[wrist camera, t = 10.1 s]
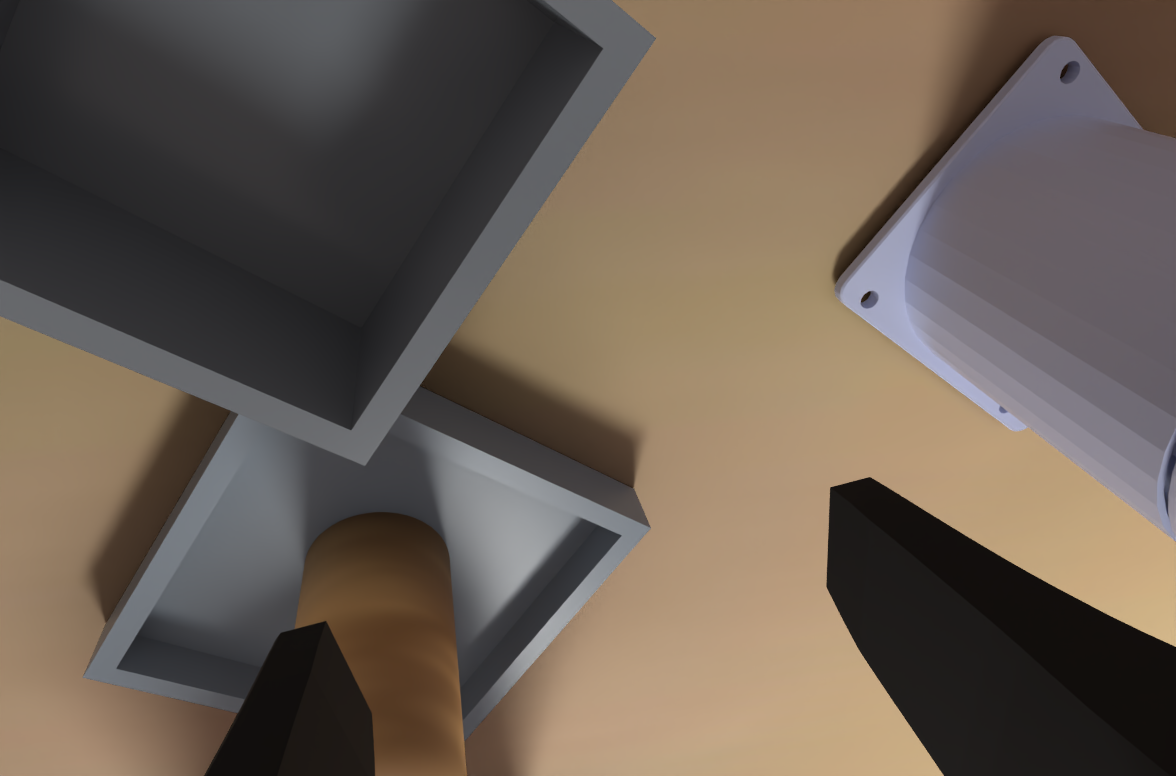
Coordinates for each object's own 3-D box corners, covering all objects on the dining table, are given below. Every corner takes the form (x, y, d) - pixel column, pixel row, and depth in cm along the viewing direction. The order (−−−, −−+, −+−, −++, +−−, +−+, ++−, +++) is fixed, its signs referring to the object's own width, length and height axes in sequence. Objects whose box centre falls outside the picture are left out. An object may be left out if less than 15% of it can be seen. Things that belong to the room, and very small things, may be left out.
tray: (634, 488, 23) (650, 528, 21) (444, 713, 26) (447, 761, 25) (283, 321, 18) (273, 356, 16) (105, 624, 21) (82, 677, 20)
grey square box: (588, 12, 16) (656, 38, 12) (373, 347, 19) (365, 465, 14) (125, -372, 12) (-30, -547, 7) (-63, 134, 14) (-251, 212, 10)
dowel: (476, 542, 22) (504, 766, 16) (404, 632, 23) (405, 870, 17) (349, 491, 20) (328, 721, 14) (278, 591, 21) (230, 842, 15)
